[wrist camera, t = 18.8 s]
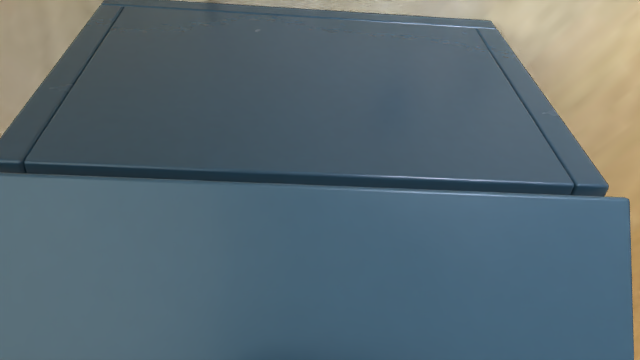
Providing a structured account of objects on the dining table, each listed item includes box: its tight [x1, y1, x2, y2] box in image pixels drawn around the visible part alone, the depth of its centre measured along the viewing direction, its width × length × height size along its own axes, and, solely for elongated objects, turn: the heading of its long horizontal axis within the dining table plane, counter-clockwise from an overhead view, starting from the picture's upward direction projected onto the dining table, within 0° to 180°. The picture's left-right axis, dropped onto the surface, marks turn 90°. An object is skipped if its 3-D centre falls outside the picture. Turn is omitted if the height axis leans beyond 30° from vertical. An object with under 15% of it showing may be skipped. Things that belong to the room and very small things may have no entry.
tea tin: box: [0, 0, 609, 197], centre depth 21 cm, size 16×14×10 cm
